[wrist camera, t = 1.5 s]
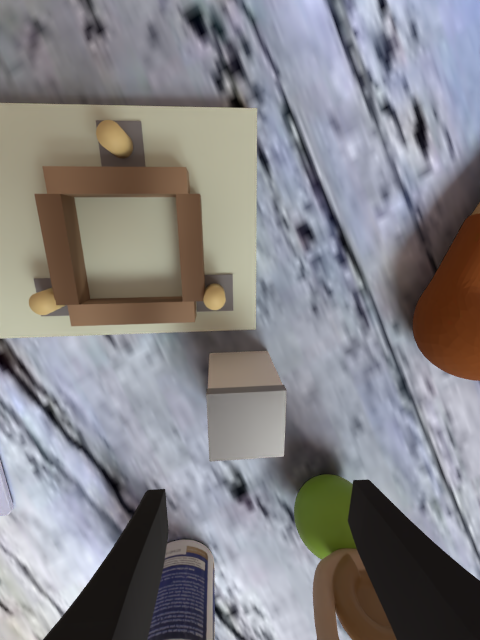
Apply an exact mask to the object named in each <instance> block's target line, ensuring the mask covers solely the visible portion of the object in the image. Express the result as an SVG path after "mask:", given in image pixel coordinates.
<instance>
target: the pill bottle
mask: <svg viewBox="0 0 480 640" xmlns="http://www.w3.org/2000/svg"><path fill="white" fill-rule="evenodd" d="M214 578H215V574H214V558H213V555H212V553H211V552H210V550H209V549H208V548H207V547H206V546H205V545H203V544H202V543H199V542H197V541H194V540H185V539H183V540H177V541H172V542H170V543H167V547H166V554H165V561H164V567H163V572H162V576H161V581H160V586H159V590H158V595H157V599H156V604H155V608H154V613H153V617H152V622H151V626H150V631H149V635H148V640H214V637H215V616H214V614H215V598H214V589H215V588H214V585H215V583H214Z"/></svg>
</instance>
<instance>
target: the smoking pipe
mask: <svg viewBox="0 0 480 640" xmlns="http://www.w3.org/2000/svg"><path fill="white" fill-rule="evenodd" d="M413 333H414V338H415V341H416V343H417V346H418V348H419V349H420V351H421V352H422V353H423V355H424V356H425V357H426V358H427V359H428V360H429V361H430V362H431V363H432V364H434V365H435V366H437V367H438V368H440V369H441V370H443V371H445V372H447V373H449V374H451V375H454V376H457V377H460V378H464V379H469V380H479V381H480V202H479V204H478V205H477V207H476V208H475V210H474V211H473V213H472V214H471V216H469V217H467V218H466V220H465V221H464V223H463V225H462V226H461V228H460V230H459V232H458V234H457V235H456V237H455V239H454V241H453V243H452V244H451V246H450V248H449V250H448V252H447V253H446V255H445V257H444V259H443V261H442V262H441V264H440V266H439V268H438V270H437V271H436V273H435V275H434V277H433V279H432V280H431V282H430V283H429V285H428V286H427V288H426V289H425V291H424V292H423V294H422V295H421V297H420V299H419V300H418V303H417V305H416V308H415V311H414V316H413Z"/></svg>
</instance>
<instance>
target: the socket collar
mask: <svg viewBox="0 0 480 640" xmlns="http://www.w3.org/2000/svg"><path fill="white" fill-rule="evenodd" d="M42 168H43V173H44V179H45V184H46V190H47V194H34V196H35V201H36V206H37V211H38V216H39V222H40V227H41V232H42V237H43V242H44V248H45V253H46V258H47V263H48V268H49V274H50V279H51V284H52V289H53V294H54V299H55V301H56V305H67V306H68V312H69V317H70V323H71V326H98V325H128V324H159V323H190V322H195V320H196V301H204V300H203V298H204V294H205V272H204V249H203V226H202V203H201V195H200V194H190V184H189V172H188V170H187V168H186V167H95V166H42ZM74 197H176V208H177V223H178V238H179V253H180V268H181V283H182V296H174V297H136V298H97V299H90V294H89V287H88V281H87V275H86V268H85V262H84V255H83V249H82V243H81V236H80V230H79V224H78V217H77V211H76V205H75V198H74Z"/></svg>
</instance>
